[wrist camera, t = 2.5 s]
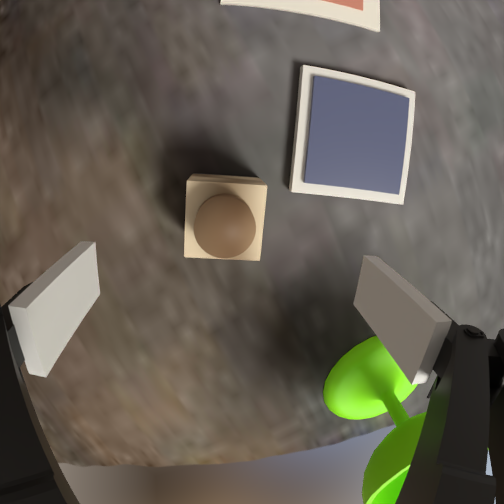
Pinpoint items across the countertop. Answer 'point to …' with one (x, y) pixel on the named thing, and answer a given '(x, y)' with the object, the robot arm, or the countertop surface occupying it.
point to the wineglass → (372, 404)
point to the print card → (324, 9)
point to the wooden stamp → (224, 216)
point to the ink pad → (351, 136)
